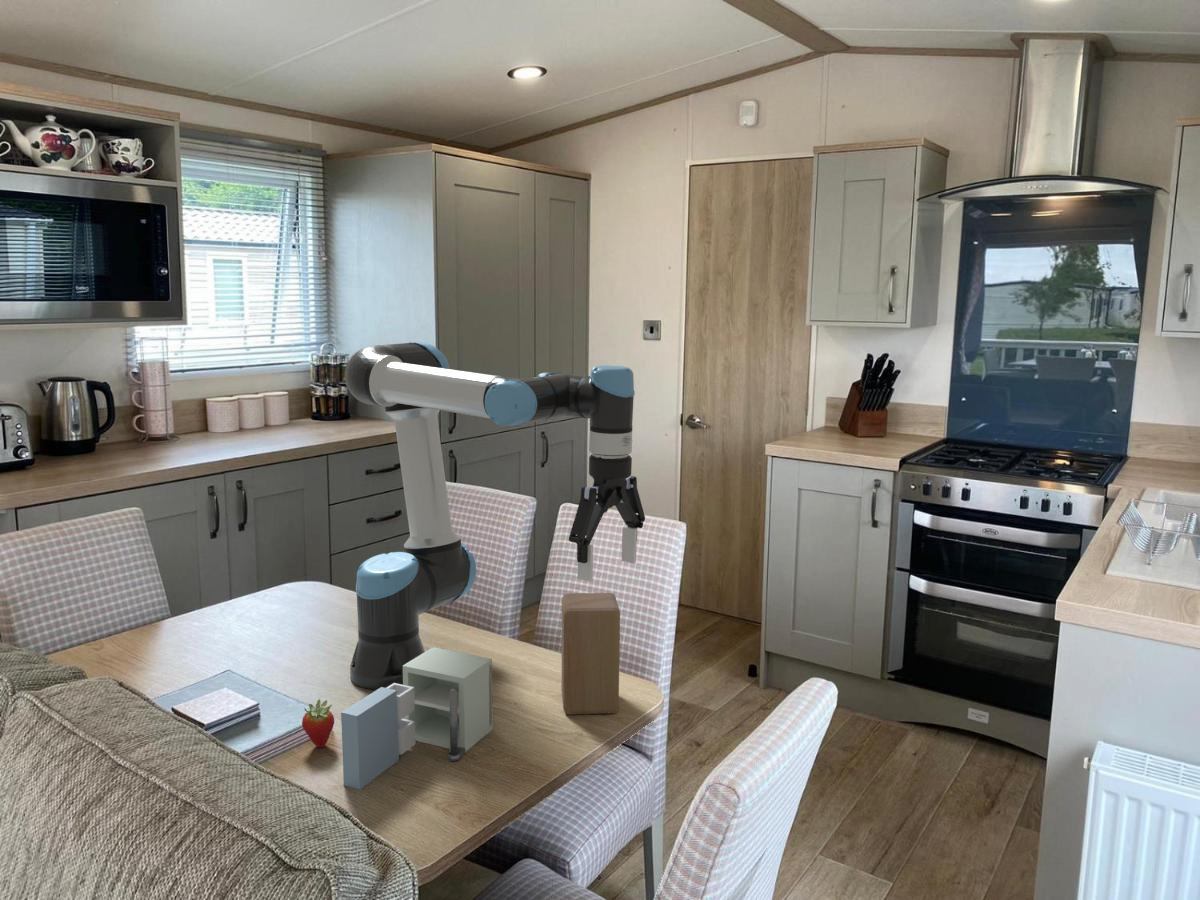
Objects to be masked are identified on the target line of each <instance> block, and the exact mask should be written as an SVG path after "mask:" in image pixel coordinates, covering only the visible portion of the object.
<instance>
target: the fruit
mask: <svg viewBox="0 0 1200 900" xmlns="http://www.w3.org/2000/svg"><path fill="white" fill-rule="evenodd" d="M327 704H328V700H327V699H326V700H324V701H323V702H322V703H321V699H320V698H318V700H317V701H316V705H315V706H314V705H313V704H312V703H309V704H308V707H309V710H307V708H305V707H303V708H304V711H305V714H304V715H303V717H302V719H301V725H302V728H303V730H304V732H305V733H306V735H307V736H308V738H309V739H310V741H311V742H312V743H313V744H314V745H315V747H317V748H323V747H325V746H326V745H327V743H328V741H329V739H330V734H331V732H332V730H333V728H334V726H335V725H334V724H335V717H334V715H333V713H332V712H331V711H330V709H331V707H332V706H333V704H330V705H328V706H327Z"/></svg>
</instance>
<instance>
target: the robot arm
mask: <svg viewBox="0 0 1200 900" xmlns="http://www.w3.org/2000/svg"><path fill="white" fill-rule="evenodd" d="M344 380H345V385H346V387H347V389H348V391H349V392H350V395H352V396H353V397H354V398H355V399H356V400H357V401H359V402H361V403H363V404H366V405H371V406H380V407H384V409H385V414H386V415H388V416H389V417H390V418H391V419H392V420H393V421H394V427H395V428H394V429H395V435H396V441H397V449H398V454H399V455H398V456H399V464H400V471H401V478H402V479H401V480H402V485H403V493H404V501H405V507H406V515H407V516H406V517H407V523H408V528H409V529H408V530H409V537H408V538H407V540H406V541H405V542H404V543H403V548H404V549H403V550H404V551H390V552H389V553H380V554H377V555H373V556H372V557H370V558H368V559H365V561H363V562H362V563H361V564H360V565H359V567H358V569H357V571H356V584H355V592H356V607H357V609H356V611H357V629H358V630H357V632H358V633H357V634H358V637H357V638H358V639H357V643H356V646H355V650H354V653H353V655H352V659H351V661H350V667H349V673H350V676H349V677H350V681H351V682H352V683H353V684H354V685H356V686H358V687H360V688H365V689H369V690H375V691H376V690H377V689H379V688H381V687H384V688H387V687H388V686H390V685H391V684H393V683H397V684H401V685H403V665H405V664H406V663H408V662H409V661H411V660H413V659H414V658H416V657H418V656H419V655H421V654H423V653H424V652H426V651H425V648H424V645H423V642H422V639H421V636H420V628H419V627H420V625H419V624H420V623H419V621H420V620H419V619H420V618H419V615H421V614H424V613H427V612H429V611H431V610H434V609H436V608H439V607H442V606H445V605H449V604H451V603H454V602H455V601H456V602H457V600H459V599H460V598H463V597H464V596H466V595H467V594H468V593H469V592H470V590H471V589H472V588H473V586H474V584H475V581H476V577H477V564H476V563H477V562H476V560H475V557H474V555H473V553H471V552H470V549H469V548H468V547H467V546H466V545H465V544H463V543H462V538H461V536H460V535H459V534H458V533H457V532H455V531H454V530H453V527H452V519H451V513H450V512H451V511H450V505H449V497H448V489H447V481H446V475H445V467H444V465H445V464H444V459H443V451H442V445H441V444H442V443H441V437H440V436H441V435H440V429H439V421H438V415H439V413H440V411H443V412H449V413H455V414H461V415H467V416H473V417H479V418H485V419H490V420H491V421H492V422H494V424H496V425H498V426H501V427H519V426H522V425H525V424H530V423H536V422H539V421H540V422H541V421H545V420H547V421H548V420H551V419H557V418H562V417H573V418H583V419H589V441H588V452H590V453H591V454H590V455H589V457H588V474H589V476H590V477H591V478H592V479H593V483H592V486H587V485H586V486H585V485H583V486H582V487H581V489H580V490H581V491H580V500H579V504H578V506H577V510H576V512H575V516H574V520H573V523H572V526H571V530H570V533H569V535H568V541H569V542H571V543H574V544H576V546H577V547H576V561H577V579H578V580H583V581H586V582H590V583H591V582H593V575H594V573H593V570H594V544H593V543H591V542H592V540H593V538H594V536H595V533H596V531H597V529H598V526H599V525H600V522H601V521H602V518H603V516H604V514H605V513H607V512H608V510H609V509H612V508H613V507H614V506H615V508H616V510H617V511H618V514H619V515H620V517H621V518H622V521H623V522H624V524H625V525H624V526H622V536H621V537H622V538H621V561H622V562H626V563H630V564H636V563H637V543H638V542H637V541H638V529H642V528H643V527H644V522H645V520H646V516H645V512H644V509H643V505H642V501H641V498H640V494H639V490H638V482H637V480H638V478H637V477H636V476H633V475H632V465H633V464H632V463H633V462H632V460H633V458H632V457H631V455H630V454H632V452H633V419H634V416H633V414H634V400H635V399H634V398H635V393H636V392H635V387H634V386H635V385H634V384H635V382H634V380H635V378H634V372H633V370H632V369H631V368H630V367H627V366H623V365H622V366H621V365H595V366H593V367H592V369H591V372H590V375H580V374H579V375H578V374H569V373H562V372H558V371H554V372H542V373H539V374H538V375H537V376H536V377H529V378H527V377H526V378H516V377H510V376H501V375H494V374H486V373H481V372H473V371H468V370H467V371H466V370H458V369H452V368H451V367H450V364H449V362H448V359H447V357H446V356H445V355H444V353H443V352H442V351H440V350H439V349H438V348H437V347H436V346H434V345H432V344H430V343H427V342H416V341H414V342H412V341H411V342H405V343H404V342H403V343H392V344H374V345H368V346H365V347H363V348H360V349H359V350H358V351H356V352H355V353H354V354H352V356H351V357H350V359H349V360H348V362H347V365H346V367H345V371H344Z"/></svg>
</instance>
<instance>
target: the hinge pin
mask: <svg viewBox="0 0 1200 900" xmlns="http://www.w3.org/2000/svg"><path fill="white" fill-rule="evenodd" d="M449 702H450V749H449V751H450V752H448V753H447V760H448V762H451V763H452V762H453V763H456V762H459V761H460V760H461V757H462V756H463V755H465V754H466V752H465V748H462V747H458V734H457V691H456V689H451V690H450V692H449Z"/></svg>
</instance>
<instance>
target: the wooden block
mask: <svg viewBox="0 0 1200 900" xmlns="http://www.w3.org/2000/svg"><path fill="white" fill-rule="evenodd" d="M620 637H621V611H620V608H619V604H618V600H617V597H616V594H614V593H612V592H591V593H590V592H585V593H584V592H582V593H579V592H578V593H575V592H572V593H569V592H568V593H565V594H563V595H562V598H561V698H562V700H561V701H562V707H563V711H564V713H565V714H566V715H590V714H591V715H594V714H595V715H596V714H600V715H601V714H615V713H617V712H618V710H619V708H620V707H619V703H620V702H619V701H620V699H619V695H620V655H621V654H620V649H621V648H620V647H621V646H620V645H621V644H620V642H621V638H620Z"/></svg>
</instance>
